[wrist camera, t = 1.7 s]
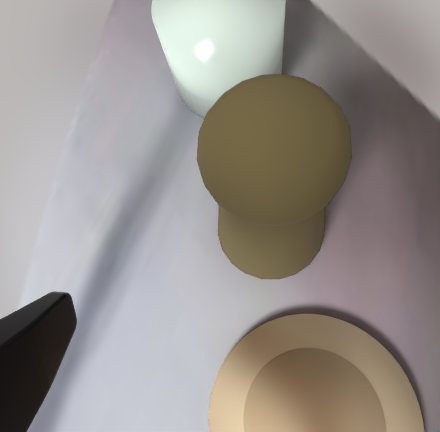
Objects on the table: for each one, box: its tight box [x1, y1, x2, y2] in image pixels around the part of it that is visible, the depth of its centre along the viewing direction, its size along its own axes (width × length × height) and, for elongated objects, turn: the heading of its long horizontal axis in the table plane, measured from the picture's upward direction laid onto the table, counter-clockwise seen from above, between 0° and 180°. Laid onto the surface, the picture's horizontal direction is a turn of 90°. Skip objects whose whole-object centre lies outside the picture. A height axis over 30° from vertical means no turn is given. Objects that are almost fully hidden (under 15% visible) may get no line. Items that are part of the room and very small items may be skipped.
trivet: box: [209, 314, 424, 432], centre depth 18 cm, size 10×10×1 cm
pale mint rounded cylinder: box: [152, 0, 286, 118], centre depth 23 cm, size 7×7×6 cm
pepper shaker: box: [197, 74, 352, 279], centre depth 17 cm, size 6×6×11 cm
